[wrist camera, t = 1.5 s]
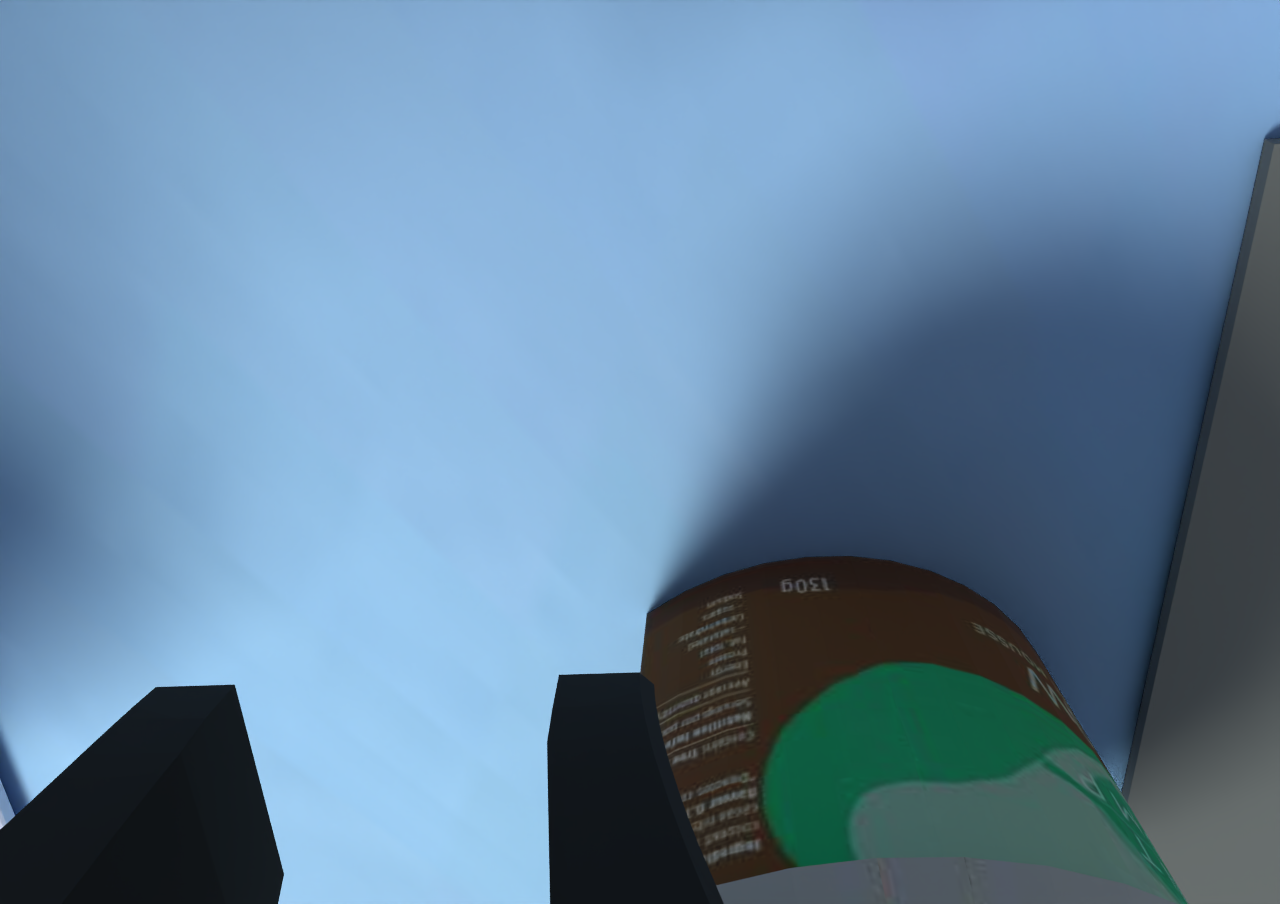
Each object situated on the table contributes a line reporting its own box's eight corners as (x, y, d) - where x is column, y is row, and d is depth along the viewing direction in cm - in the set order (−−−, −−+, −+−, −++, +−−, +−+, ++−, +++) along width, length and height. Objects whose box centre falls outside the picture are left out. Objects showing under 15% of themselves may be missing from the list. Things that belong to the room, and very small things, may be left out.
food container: (1235, 785, 23) (1594, 1372, 15) (972, 922, 25) (1151, 1514, 17) (878, 355, 19) (1088, 832, 10) (591, 562, 21) (559, 1115, 12)
